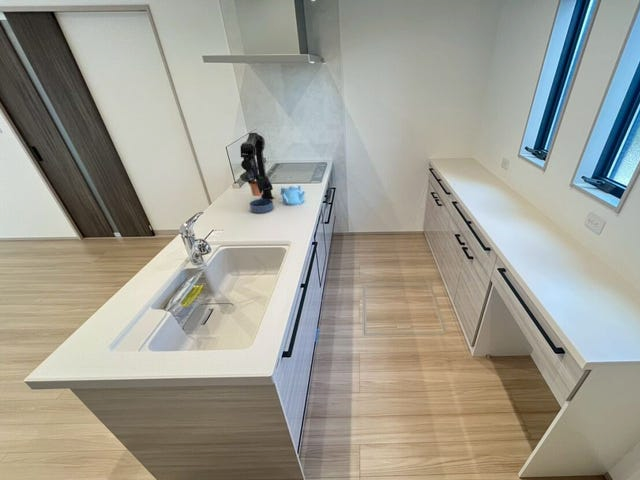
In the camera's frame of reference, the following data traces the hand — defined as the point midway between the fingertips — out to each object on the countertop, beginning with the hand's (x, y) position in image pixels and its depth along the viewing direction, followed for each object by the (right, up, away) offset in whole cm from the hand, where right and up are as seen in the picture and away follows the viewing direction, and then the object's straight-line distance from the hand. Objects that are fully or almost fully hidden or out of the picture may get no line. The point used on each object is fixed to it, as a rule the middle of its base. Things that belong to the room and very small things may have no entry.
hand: (257, 191), depth 193 cm
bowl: (+1, -10, +6) cm, 12 cm away
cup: (0, -1, +1) cm, 2 cm away
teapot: (+19, -3, +17) cm, 25 cm away
